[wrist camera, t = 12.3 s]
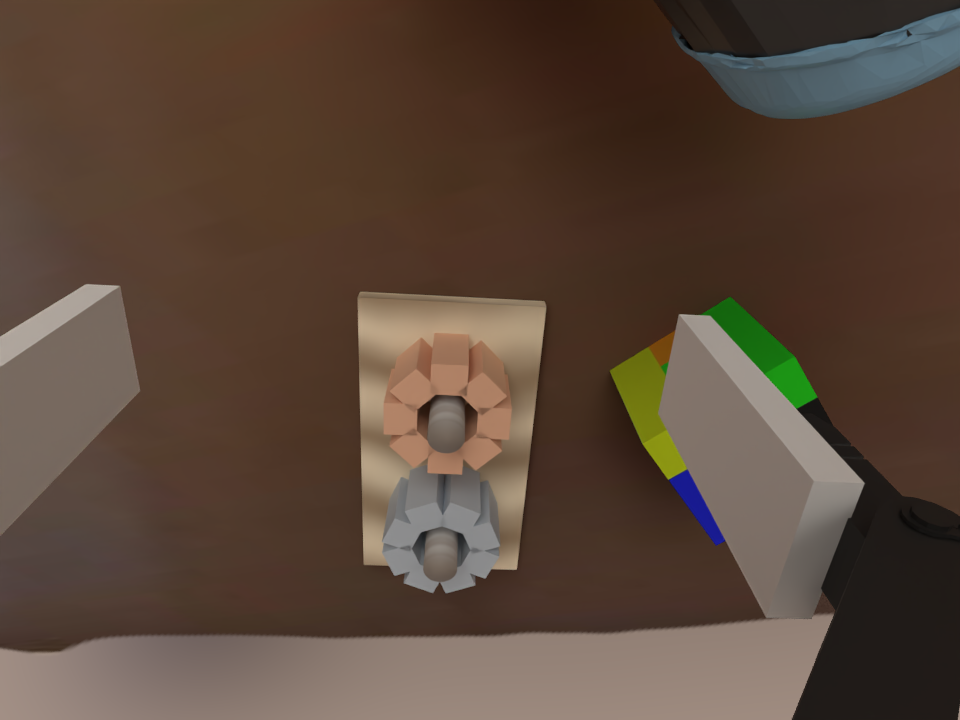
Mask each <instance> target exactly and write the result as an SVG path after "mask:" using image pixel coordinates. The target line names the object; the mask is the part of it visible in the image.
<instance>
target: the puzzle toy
mask: <svg viewBox="0 0 960 720" xmlns="http://www.w3.org/2000/svg"><path fill="white" fill-rule="evenodd" d="M701 315H705V316H711V317H712V318H713V319H714V320H715V321H716V323H717V324H718V325H719V326H720V327H721V328H722V329H723V330H724V331H725V332H726V333H727V334H728V336H729V337H730V338H731V339H732V340H733V341H734V342H735V343H736V344H737V345H738V346H739V347H740V349H741V350H742V351H743V352H744V353H745V354H746V355H747V356H748V357H749V358H750V359H751V361H752V362H753V363H754V364H755V365H756V366H757V367H758V368H759V369H760V370H761V371H762V372H763V374H764V375H765V376H766V377H767V378H768V379H769V380H770V381H771V382H772V383H773V384H774V385H775V387H776V388H777V389H778V390H779V391H780V392H781V393H782V394H783V395H784V396H785V397H786V398H787V400H788V401H789V402H790V403H791V404H792V405H793V406H794V407H795V408H796V409H797V410H798V411H799V413H812V414H813V415H815V416H817V417H818V418H820V419H822V420H823V421H825V422H827V423H828V424H830V425H832V423H831V421H830V419H829V417H828V416H827V414H826V412H825V410H824V408H823V407H822V405H821V403H820V401H819V399H818V398H817V396H816V394H815V392H814V390H813V389H812V387H811V385H810V383H809V381H808V379H807V378H806V376H805V374H804V372H803V370H802V369H801V367H800V365H799V363H798V361H797V360H796V358H795V356H794V355H793V354H792V353H790V352H789V351H788V350H787V349H786V348H785V347H784V346H783V345H782V344H781V343H780V342H779V341H778V340H776V339H775V338H774V337H773V336H772V335H771V334H770V333H769V332H768V331H767V330H766V329H765V328H764V327H762V326H761V325H760V324H759V323H758V322H757V321H756V320H755V319H754V318H753V317H752V316H751V315H750V314H748V313H747V312H746V311H745V310H744V309H743V308H742V307H741V306H740V305H739V304H738V303H737V302H736V301H734V300H733V299H732V298H731V297H729V298H727V299H726V300H724V301H722V302H721V303H719V304H717V305H716V306H714V307H713V308H711V309H709V310H708V311H706V312H704V313H703V314H701ZM675 331H676V330H675ZM675 331H673V332H672V333H670V334H669V335H667V336H665V337H664V338H662V339H660V340H659V341H657V342H655V343H654V344H652V345H651V346H649V347H647V348H646V349H644V350H642V351H641V352H639V353H638V354H636V355H634V356H633V357H631V358H629V359H628V360H626V361H625V362H623V363H621V364H620V365H618V366H616V367H615V368H613V369H611V370H610V373H611V375H612V377H613V380H614V382H615V384H616V386H617V389H618V391H619V393H620V395H621V397H622V400H623V402H624V404H625V406H626V409H627V411H628V413H629V415H630V417H631V420H632V422H633V424H634V426H635V429H636V431H637V433H638V435H639V438H640V440H641V442H642V444H643V445H644V447H645V448H646V450H647V451H648V452H649V454H650V455H651V457H652V458H653V459H654V461H655V462H656V463H657V465H658V466H659V468H660V469H661V470H662V472H663V473H664V474H665V476H666V477H667V479H668V480H669V481H670V483H671V484H672V486H673V487H674V488H675V490H676V491H677V492H678V494H679V495H680V497H681V498H682V499H683V501H684V502H685V504H686V505H687V506H688V508H689V509H690V510H691V512H692V513H693V515H694V516H695V517H696V519H697V520H698V522H699V523H700V524H701V526H702V527H703V528H704V530H705V531H706V533H707V534H708V535H709V537H710V538H711V540H712V541H713V542H714V544H715V545H718V544H720V543H722V542H724V541H725V539H724V537H723V535H722V533H721V531H720V529H719V527H718V526H717V524H716V522H715V520H714V518H713V516H712V514H711V512H710V510H709V509H708V507H707V505H706V503H705V501H704V499H703V497H702V495H701V493H700V492H699V490H698V488H697V486H696V484H695V482H694V480H693V478H692V476H691V475H690V473H689V471H688V469H687V467H686V465H685V463H684V461H683V459H682V458H681V456H680V454H679V452H678V450H677V448H676V446H675V444H674V442H673V441H672V439H671V437H670V435H669V433H668V431H667V429H666V427H665V425H664V424H663V422H662V420H661V418H660V416H659V414H658V412H659V407H660V402H661V397H662V393H663V388H664V383H665V378H666V374H667V369H668V364H669V359H670V354H671V350H672V345H673V340H674V335H675ZM832 426H833V425H832ZM833 427H834V426H833Z"/></svg>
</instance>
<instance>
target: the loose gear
mask: <svg viewBox="0 0 960 720" xmlns="http://www.w3.org/2000/svg"><path fill="white" fill-rule="evenodd" d="M435 395H454V396H462V397H463V398H464V399H465V400H466V401H467V402H468V404H467V405H465V441H464V444H463V445H462V447H461V448H460V449H459V450H457V451H455V452H453V453H440V452H437V451H435V450H434V449H433V448H432V447H431V446H430V445H429V443H428V440H427V433H428V423H429V414H430V404H431V403H430V402H429V400H430V399H431V398H432V397H433V396H435ZM511 413H512V406H511V398H510V390H509V382H508V374H505V373H504V364H503V362H502V361H501V360H500V359H499V358H498V357H497V356H496V355H495V354H494V353H493V352H492V351H491V350H490V348H489V347H488V346H487V345H486V344H485V343H484V342H483V341H482V340H481V341H480V342H478V343H477V344H476V345H475V346H473V347H472V348H471V349H470V350H469V334H449V333H434V342H433V348H432V347H431V346H430V345H429V344H428V343H427V342H426V341H425V340H424V339H423V338H422V337H421V338H420V339H418V340H417V341H416V342H415V343H414V344H413V345H411V346H410V347H409V348H408V349H407V350H405V351H404V352H403V353H402V354H401V355H400V356H398V357H397V360H396V364H395V369H391V374H390V378H389V382H388V386H387V391H386V395H385V399H384V434H386V435H391V440H390V447H391V448H392V449H393V450H394V451H395V452H396V453H398V454H399V455H400V456H401V457H402V458H403V459H404V460H406V461H407V462H408V463H409V464H410V465H411V466H412V467H413V468H415V467H416V466H417V465H419V464H420V463H421V462H423V461H424V460H425V459H427V458H428V471H427V473H435V474H460V475H462V469H463V459H464V460H465V461H466V462H467V463H468V464H469V465H470V466H471V467H472V468H474V469H475V470H477V469H479V468H480V467H481V466H483V465H484V464H485V463H487V462H488V461H489V460H491V459H492V458H493V457H495V456H496V455H497V454H499V453H500V452H502V443H501V439H503V440H509V434H510V424H511Z"/></svg>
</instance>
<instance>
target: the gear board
mask: <svg viewBox="0 0 960 720" xmlns="http://www.w3.org/2000/svg"><path fill="white" fill-rule="evenodd" d="M545 315H546V304H545V301H533V300H513V299H493V298H474V297H454V296H434V295H415V294H395V293H376V292H360V293H359V296H358V336H359V379H360V422H361V466H362V509H363V552H364V565H384V566H389V565H388V563H387V561H386V559H385V557H384V555H383V554H382V550H383V544H384V543H383V542H382V539H383V533H384V528H385V522H386V516H387V510H388V504H389V499H390V497H391V495H392V493H393V491H394V489H395V488H396V486H397V484H398V482H399V480H400V478H401V477H403V478H406V479H408V480H409V475H410V470H411V469H414V468H413V467H412V466H411V465H410V464H409V463H408V462H407V461H406V460H404V459H403V458H402V457H401V456H400V455H399V454H398V453H396V452H395V451H394V450H393V449H392V448H391V447H390V440H391V435H386V434H384V399H385V395H386V391H387V386H388V382H389V378H390V374H391V369H395V364H396V360H397V357H398V356H400V355H401V354H402V353H403V352H404V351H405V350H407V349H408V348H409V347H410V346H411V345H413V344H414V343H415V342H416V341H417V340H418V339H420V338H421V337H422V338H423V339H424V340H425V341H426V342H427V343H428V344H429V345H430V346H431V347H432V348H433V342H434V333H449V334H469V350H470V349H471V348H472V347H473V346H475V345H476V344H477V343H478V342H480V341H481V340H482V341H483V342H484V343H485V344H486V345H487V346H488V347H489V348H490V350H491V351H492V352H493V353H494V354H495V355H496V356H497V357H498V358H499V359H500V360H501V361H502V362H503V364H504V373H505V374H508V382H509V390H510V398H511V406H512V413H511V424H510V434H509V440H503V439H501V443H502V452H500V453H499V454H497V455H496V456H495V457H493V458H492V459H491V460H489V461H488V462H487V463H485V464H484V465H483V466H481V467H480V468H479V469H477V470H475V469H474V468H472V467H471V466H470V465H469V464H468V463H467V462H466V461H465V460H464V459H463V466H464V467H467V468H469V469H472V470H475V471H477V472H480V482H483V481H487V480H488V481H489V484H490V486H491V489H492V491H493V494H494V496H495V498H496V501H497V503H498V518H499V532H500V547H499V558H498V560H497V561H496V563H495V564H494V566H493V567H492V569H506V570H517V563H518V554H519V545H520V537H521V528H522V519H523V510H524V501H525V492H526V483H527V475H528V466H529V457H530V448H531V439H532V430H533V421H534V412H535V404H536V395H537V386H538V377H539V368H540V359H541V350H542V341H543V333H544V324H545ZM429 402H430V403H431V404H430V414H429V423H428V433H427V440H428V443H429V445H430V446H431V447H432V448H433V449H434V450H435V451H437V452H440V453H453V452H455V451H457V450H459V449H460V448H461V447H462V445H463V444H464V441H465V405H467V404H468V402H467V401H466V400H465V399H464V398H463V397H462V396H454V395H435V396H433V397H432V398H431V399H430V400H429ZM424 465H428V458H427V459H425V460H424V461H423V462H421V463H420V464H419V465H417V466H416V467H415V468H418V467H421V466H424ZM457 550H458V532H456V531H454V530H451V529H448V528H445V527H443V526H442V527H438V528H435V529H431V530H428V531H426V542H425V553H424V565H423V571H424V574H425V575H426V577H427V578H429V579H430V580H432V581H436V582H445V581H448V580H450V579H452V578H453V577H454V576H455V575H456V573H457Z"/></svg>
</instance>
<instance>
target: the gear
mask: <svg viewBox="0 0 960 720" xmlns="http://www.w3.org/2000/svg"><path fill="white" fill-rule="evenodd" d="M427 471H428V465H424V466H421V467H418V468H414V469H411V470H410V475H409V480H408V479H406V478H403V477H401V478H400V480H399V482H398V484H397V486H396V488H395V489H394V491H393V493H392V495H391V497H390V499H389V504H388V510H387V516H386V522H385V528H384V533H383V539H382V542H383V543H384V544H383V550H382V554H383V555H384V557H385V559H386V561H387V563H388V565H389V567H390V568H391V570H392V572H393V574H394V576H396V575H399V574H403V573H405V577H404V583H405V584H408V585H411V586H414V587H416V588H419V589H422V590H425V591H428V592H431V593H433V592H434V590H435V588H436V587H437V585H438V584H439V582H436V581H432V580H430V579H429V578H427V577H426V575H425V574H424V571H423V565H424V553H425V542H426V531H428V530H431V529H435V528H438V527H442V526H443V527H445V528H448V529H451V530H454V531H456V532H458V550H457V573H456V575H455V576H454V577H453V578H452V579H450V580H448V581H445V582H440V583H441V585H442V587H443V589H444V591H445V593H449V592H453V591H457V590H460V589H464V588H468V587H471V586H475V575H476V576H479V577H482V578H486V577H487V575H488V574H489V572H490V570H491V569H492V567H493V566H494V564H495V563H496V561H497V560H498V558H499V547H500V532H499V518H498V503H497V501H496V498H495V496H494V494H493V491H492V489H491V486H490V484H489V481H488V480H487V481H483V482H480V472H477V471H475V470H472V469H469V468H467V467H464V466H463V469H462V475H460V474H435V473H427Z"/></svg>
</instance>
